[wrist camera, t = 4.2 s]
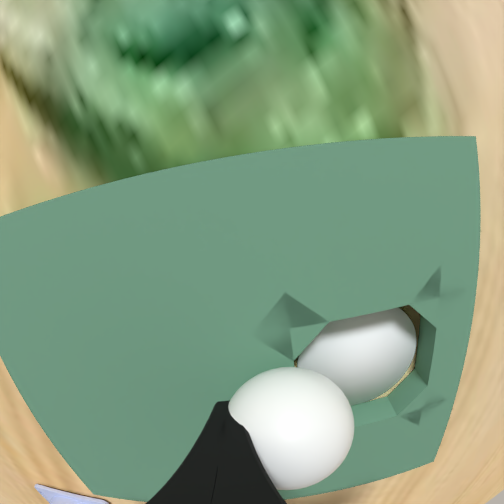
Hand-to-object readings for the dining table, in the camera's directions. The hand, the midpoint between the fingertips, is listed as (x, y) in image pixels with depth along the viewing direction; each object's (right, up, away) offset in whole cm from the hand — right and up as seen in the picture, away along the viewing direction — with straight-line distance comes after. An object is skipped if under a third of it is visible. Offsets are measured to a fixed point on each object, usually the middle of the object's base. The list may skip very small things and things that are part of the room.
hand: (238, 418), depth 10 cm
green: (-1, 0, +3) cm, 3 cm away
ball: (+2, 0, -1) cm, 2 cm away
